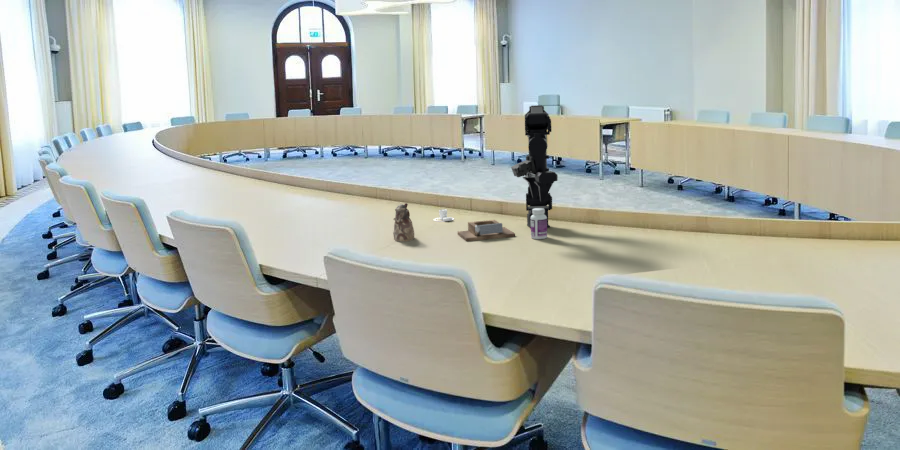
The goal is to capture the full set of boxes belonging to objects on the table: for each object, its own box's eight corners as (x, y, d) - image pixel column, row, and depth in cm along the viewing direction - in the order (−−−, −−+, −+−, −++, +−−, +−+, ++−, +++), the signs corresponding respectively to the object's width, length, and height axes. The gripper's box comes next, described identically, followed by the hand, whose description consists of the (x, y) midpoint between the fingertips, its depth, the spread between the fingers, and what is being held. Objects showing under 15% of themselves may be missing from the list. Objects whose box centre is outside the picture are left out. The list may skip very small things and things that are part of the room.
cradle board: (504, 229, 241) (504, 218, 240) (515, 236, 230) (514, 224, 229) (457, 234, 237) (457, 223, 236) (466, 241, 226) (465, 229, 225)
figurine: (389, 239, 233) (386, 204, 231) (404, 235, 238) (402, 201, 236) (403, 242, 229) (401, 206, 226) (418, 238, 234) (417, 203, 231)
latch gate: (501, 231, 231) (500, 222, 231) (502, 232, 230) (502, 223, 229) (474, 234, 229) (474, 225, 228) (476, 235, 228) (475, 226, 227)
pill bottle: (548, 236, 228) (548, 207, 226) (545, 239, 224) (545, 210, 222) (532, 235, 230) (532, 207, 228) (529, 239, 225) (528, 210, 223)
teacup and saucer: (454, 222, 258) (453, 212, 257) (432, 223, 258) (432, 212, 258) (454, 218, 267) (453, 207, 266) (433, 218, 267) (433, 208, 266)
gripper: (504, 151, 228) (505, 197, 231) (523, 156, 210) (524, 207, 214) (536, 149, 231) (536, 195, 234) (558, 154, 213) (558, 204, 216)
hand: (538, 200), depth 224 cm, fingers open, 7 cm apart
